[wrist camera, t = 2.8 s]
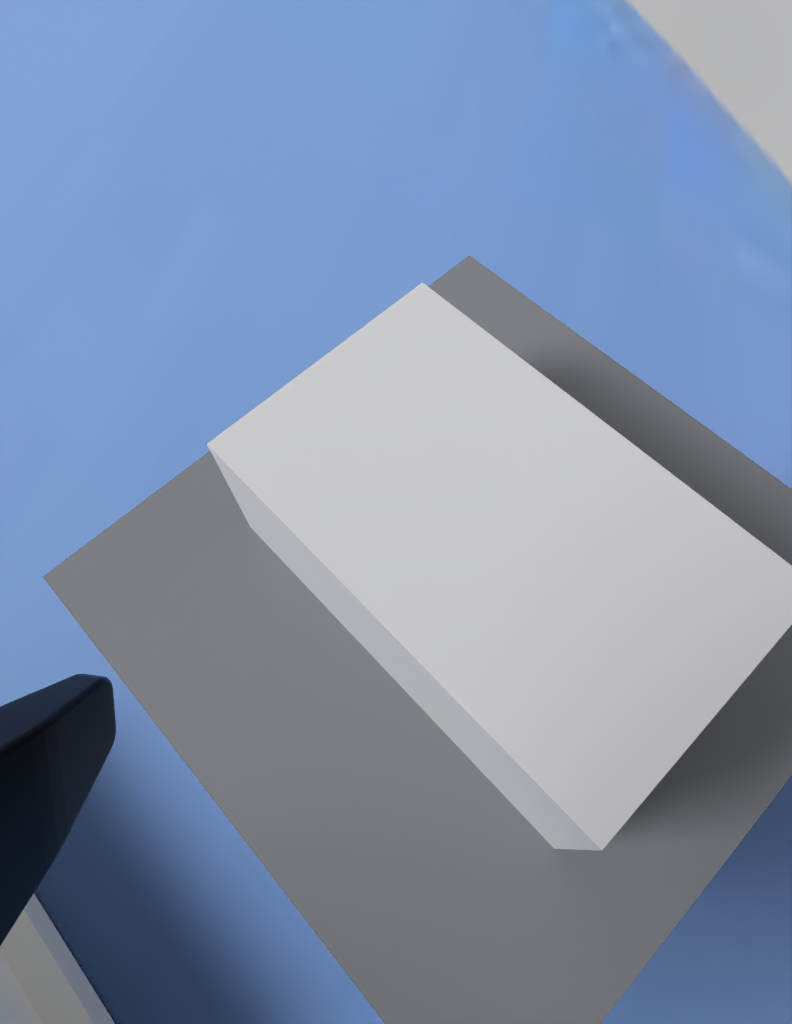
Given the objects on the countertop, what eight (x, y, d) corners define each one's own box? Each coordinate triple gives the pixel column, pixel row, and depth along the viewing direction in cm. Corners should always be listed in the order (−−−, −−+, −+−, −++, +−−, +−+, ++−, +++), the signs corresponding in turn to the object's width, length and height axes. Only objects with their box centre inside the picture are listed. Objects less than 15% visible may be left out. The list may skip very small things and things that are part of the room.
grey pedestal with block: (567, 769, 17) (1081, 519, 4) (434, 918, 15) (525, 1302, 3) (435, 636, 18) (480, 134, 5) (303, 762, 17) (-59, 503, 4)
